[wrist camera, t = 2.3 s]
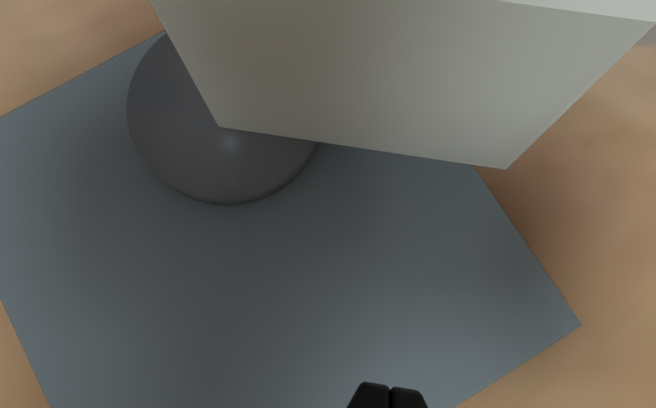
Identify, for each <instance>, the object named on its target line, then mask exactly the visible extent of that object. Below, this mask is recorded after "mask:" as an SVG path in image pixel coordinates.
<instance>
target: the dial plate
mask: <svg viewBox="0 0 656 408" xmlns="http://www.w3.org/2000/svg"><path fill="white" fill-rule="evenodd" d="M166 33H167V32H166V30H164V31H162V32H161V33H159V34H157V35H155V36H153V37H151V38H149V39H147V40H145V41H144V42H142V43H140V44H138V45H136V46H134V47H132V48H130V49H128V50H127V51H125V52H123V53H121V54H119V55H117V56H115V57H113V58H111V59H110V60H108V61H106V62H104V63H102V64H100V65H98V66H96V67H94V68H93V69H91V70H89V71H87V72H85V73H83V74H81V75H79V76H77V77H76V78H74V79H72V80H70V81H68V82H66V83H64V84H62V85H60V86H59V87H57V88H55V89H53V90H51V91H49V92H47V93H45V94H43V95H42V96H40V97H38V98H36V99H34V100H32V101H30V102H28V103H26V104H25V105H23V106H21V107H19V108H17V109H15V110H13V111H11V112H9V113H8V114H6V115H4V116H2V117H0V299H1V301H2V303H3V305H4V308H5V310H6V312H7V314H8V316H9V318H10V321H11V323H12V325H13V327H14V329H15V331H16V334H17V336H18V338H19V340H20V342H21V344H22V347H23V349H24V351H25V353H26V355H27V357H28V360H29V362H30V364H31V366H32V368H33V370H34V373H35V375H36V377H37V379H38V381H39V383H40V386H41V388H42V390H43V392H44V394H45V396H46V399H47V401H48V403H49V405H50V407H51V408H347V406H348V404H349V402H350V400H351V399H352V397H353V395H354V393H355V392H356V390H357V388H358V386H359V385H360V384H361V383H362V382H372V383H378V384H384V385H387V386H388V387H389V389H391V388H393V387H402V388H408V389H414V390H417V391H419V392H420V393H421V394H422V396H423V398H424V400H425V402H426V404H427V406H428V408H454V407H456V406H457V405H459V404H460V403H462V402H464V401H465V400H467V399H468V398H470V397H471V396H473V395H474V394H476V393H477V392H479V391H481V390H482V389H484V388H485V387H487V386H488V385H490V384H491V383H493V382H495V381H496V380H498V379H499V378H501V377H502V376H504V375H505V374H507V373H509V372H510V371H512V370H513V369H515V368H516V367H518V366H519V365H521V364H522V363H524V362H526V361H527V360H529V359H530V358H532V357H533V356H535V355H536V354H538V353H540V352H541V351H543V350H544V349H546V348H547V347H549V346H550V345H552V344H554V343H555V342H557V341H558V340H560V339H561V338H563V337H564V336H566V335H567V334H569V333H571V332H572V331H574V330H575V329H577V328H578V327H580V326H581V325H582V324H581V323H580V321H579V320H578V318H577V317H576V315H575V314H574V312H573V311H572V310H571V308H570V307H569V305H568V304H567V302H566V301H565V299H564V298H563V296H562V295H561V293H560V292H559V290H558V289H557V288H556V286H555V285H554V283H553V282H552V280H551V279H550V277H549V276H548V274H547V273H546V271H545V270H544V269H543V267H542V266H541V264H540V263H539V261H538V260H537V258H536V257H535V255H534V254H533V252H532V251H531V250H530V248H529V247H528V245H527V244H526V242H525V241H524V239H523V238H522V236H521V235H520V233H519V232H518V230H517V229H516V228H515V226H514V225H513V223H512V222H511V220H510V219H509V217H508V216H507V214H506V213H505V211H504V210H503V209H502V207H501V206H500V204H499V203H498V201H497V200H496V198H495V197H494V195H493V194H492V192H491V191H490V189H489V188H488V187H487V185H486V184H485V182H484V181H483V179H482V178H481V176H480V175H479V173H478V172H477V170H476V169H475V168H474V166H473V165H470V164H464V163H457V162H450V161H444V160H437V159H430V158H424V157H417V156H410V155H404V154H397V153H390V152H384V151H377V150H370V149H364V148H357V147H350V146H343V145H337V144H330V143H323V142H319V144H318V146H317V149H316V151H315V153H314V155H313V157H312V158H311V160H310V162H309V163H308V164H307V166H306V167H305V168H304V170H303V171H302V172H301V173H300V174H299V175H298V176H297V177H296V178H295V179H294V180H293V181H292V182H290V183H289V184H288V185H287V186H285V187H284V188H282V189H281V190H279V191H277V192H276V193H274V194H272V195H270V196H268V197H265V198H263V199H260V200H257V201H254V202H250V203H245V204H239V205H216V204H209V203H205V202H200V201H197V200H194V199H192V198H189V197H187V196H185V195H183V194H181V193H179V192H177V191H176V190H175V189H173V188H172V187H170V186H169V185H168V184H166V183H165V182H164V181H163V180H162V179H161V178H160V177H159V176H158V175H157V174H156V173H155V172H154V171H153V170H151V169H150V168H149V167H148V165H147V164H146V163H145V162H144V160H143V159H142V158H141V156H140V155H139V153H138V151H137V149H136V148H135V146H134V143H133V141H132V138H131V136H130V132H129V128H128V124H127V114H126V105H127V95H128V90H129V86H130V83H131V80H132V76H133V74H134V72H135V70H136V68H137V66H138V64H139V62H140V61H141V59H142V58H143V56H144V55H145V53H146V52H147V51H148V50H149V49H150V48H151V46H152V45H153V44H154V43H155V42H156V41H158V40H159V39H160V38H161V37H162V36H163V35H165V34H166Z"/></svg>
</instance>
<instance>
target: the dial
mask: <svg viewBox="0 0 656 408" xmlns="http://www.w3.org/2000/svg"><path fill="white" fill-rule="evenodd" d="M149 1H150V3H151V5H152V7H153V8H154V10H155V12H156V14H157V16H158V18H159V19H160V21H161V23H162V25H163V27H164V28H165V30H166V32H167V33H166V34H165V35H163V36H162V37H161V38H160V39H159V40H158V41H156V42H155V43H154V44H153V45H152V46H151V48H150V49H149V50H148V51H147V52H146V53H145V55H144V56H143V58H142V59H141V61H140V62H139V64H138V66H137V68H136V70H135V72H134V74H133V76H132V80H131V83H130V86H129V90H128V95H127V105H126V114H127V124H128V128H129V132H130V136H131V138H132V141H133V143H134V146H135V148H136V149H137V151H138V153H139V155H140V156H141V158H142V159H143V160H144V162H145V163H146V164H147V165H148V167H149V168H150V169H151V170H153V171H154V172H155V173H156V174H157V175H158V176H159V177H160V178H161V179H162V180H163V181H164V182H165V183H166V184H168V185H169V186H170V187H172V188H173V189H175V190H176V191H177V192H179V193H181V194H183V195H185V196H187V197H189V198H192V199H194V200H197V201H200V202H205V203H209V204H216V205H239V204H245V203H250V202H254V201H257V200H260V199H263V198H265V197H268V196H270V195H272V194H274V193H276V192H277V191H279V190H281V189H282V188H284V187H285V186H287V185H288V184H289V183H290V182H292V181H293V180H294V179H295V178H296V177H297V176H298V175H299V174H300V173H301V172H302V171H303V170H304V168H305V167H306V166H307V164H308V163H309V162H310V160H311V158H312V157H313V155H314V153H315V151H316V149H317V146H318V144H319V142H323V143H330V144H337V145H343V146H350V147H357V148H364V149H370V150H377V151H384V152H390V153H397V154H404V155H410V156H417V157H424V158H430V159H437V160H444V161H450V162H457V163H464V164H470V165H477V166H484V167H490V168H497V169H504V170H506V169H507V168H508V167H509V166H510V165H511V164H512V163H513V162H514V161H515V160H516V159H518V158H519V157H520V156H521V155H522V154H523V153H524V152H525V151H526V150H527V149H528V148H529V147H530V146H531V145H532V144H533V143H534V142H535V141H536V140H537V139H538V138H539V137H540V136H541V135H542V134H543V133H544V132H545V131H546V130H547V129H548V128H549V127H550V126H551V125H552V124H553V123H554V122H555V121H556V120H557V119H558V118H559V117H560V116H562V115H563V114H564V113H565V112H566V111H567V110H568V109H569V108H570V107H571V106H572V105H573V104H574V103H575V102H576V101H577V100H578V99H579V98H580V97H581V96H582V95H583V94H584V93H585V92H586V91H587V90H588V89H589V88H590V87H591V86H592V85H593V84H594V83H595V82H596V81H597V80H598V79H599V78H600V77H601V76H602V75H603V74H604V73H606V72H607V71H608V70H609V69H610V68H611V67H612V66H613V65H614V64H615V63H616V62H617V61H618V60H619V59H620V58H621V57H622V56H623V55H624V54H625V53H626V52H627V51H628V50H629V49H630V48H631V47H632V46H633V45H634V44H635V43H636V42H637V41H638V40H639V39H640V38H641V37H642V36H643V35H644V34H645V33H646V32H647V31H648V30H649V29H650V28H651V27H652V26H654V25H655V24H656V0H149Z"/></svg>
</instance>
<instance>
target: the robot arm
mask: <svg viewBox="0 0 656 408" xmlns="http://www.w3.org/2000/svg"><path fill="white" fill-rule="evenodd" d="M347 408H428V406H427V404H426V402H425V400H424V398H423V396H422V394H421V393H420V392H419V391H417V390H414V389H408V388H402V387H393V388H391V389H389V387H388V386H387V385H384V384H378V383H372V382H362V383H361V384H360V385H359V386H358V388H357V390H356V392H355V393H354V395H353V397H352V399H351V400H350V402H349V404H348V406H347Z"/></svg>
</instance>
